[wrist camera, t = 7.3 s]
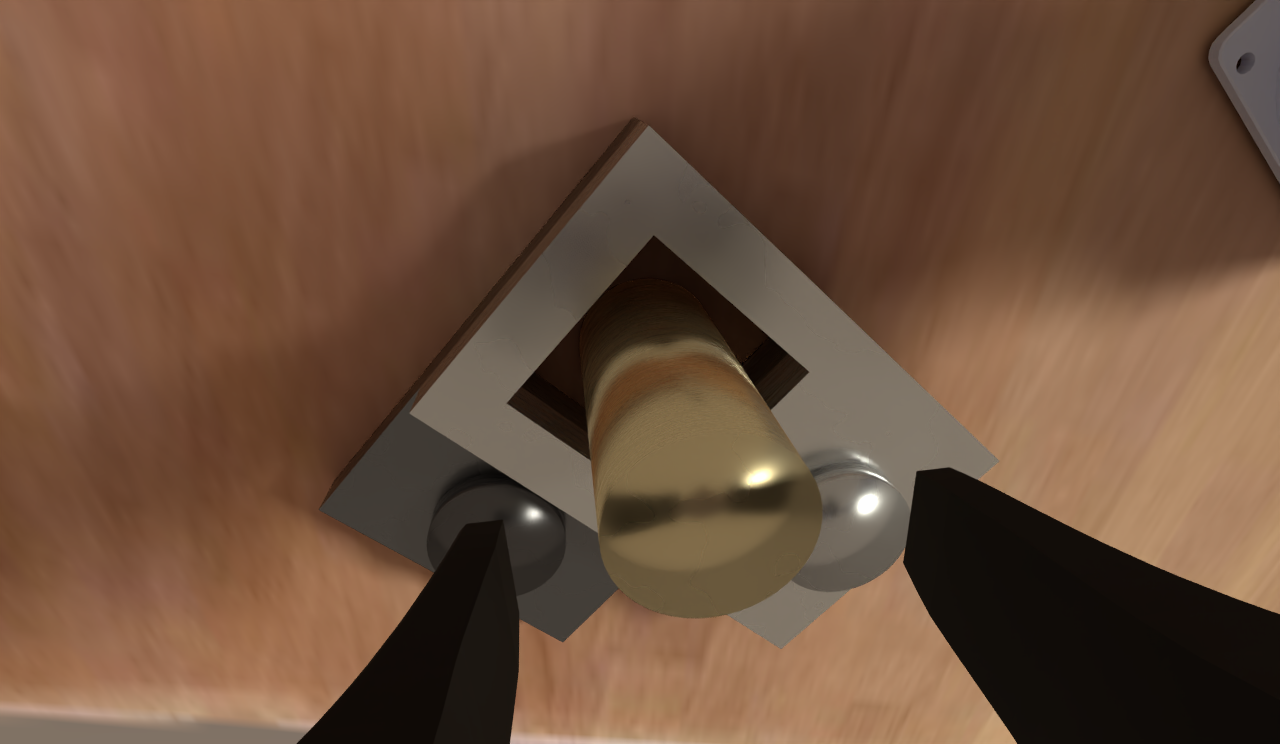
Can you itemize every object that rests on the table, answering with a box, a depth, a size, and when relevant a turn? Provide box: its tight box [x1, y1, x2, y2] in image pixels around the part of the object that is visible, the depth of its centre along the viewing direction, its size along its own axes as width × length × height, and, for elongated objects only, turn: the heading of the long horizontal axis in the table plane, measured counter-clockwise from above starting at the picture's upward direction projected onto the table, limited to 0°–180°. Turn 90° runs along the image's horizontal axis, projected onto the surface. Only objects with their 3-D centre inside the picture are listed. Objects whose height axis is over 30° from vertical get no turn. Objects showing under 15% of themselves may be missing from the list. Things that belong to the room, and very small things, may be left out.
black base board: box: [319, 117, 788, 642], centre depth 19 cm, size 14×9×2 cm, turn 138°
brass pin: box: [579, 278, 822, 618], centre depth 16 cm, size 4×4×9 cm
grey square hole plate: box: [409, 121, 999, 649], centre depth 19 cm, size 14×9×4 cm, turn 48°
